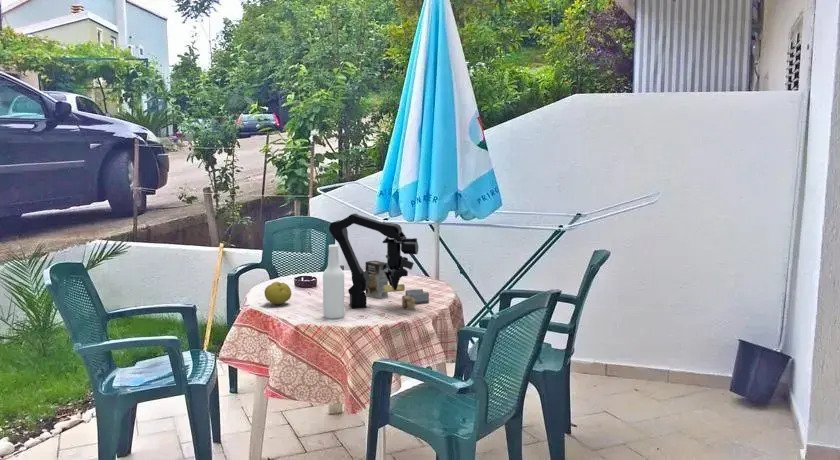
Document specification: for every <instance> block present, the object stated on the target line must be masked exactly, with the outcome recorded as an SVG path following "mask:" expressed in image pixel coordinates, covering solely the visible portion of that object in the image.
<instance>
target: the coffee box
mask: <svg viewBox="0 0 840 460" xmlns="http://www.w3.org/2000/svg"><path fill="white" fill-rule="evenodd" d="M382 263H386V262H384V261H381V260H369V261H365V271H366V270H367V272H368V275H369V277H370V284H369V286H368V287H367V288H366V290H365V295H366V297H369V298H373V299H378V300H379V299H380V300H381V299H383V298H387V297H388V296H389V295H388V293H389V292H383V285H389V282H388V279H387V277H386V275H385V273H384V272H385V271H386V269H384V270H381V264H382Z"/></svg>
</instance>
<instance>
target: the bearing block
mask: <svg viewBox="0 0 840 460" xmlns="http://www.w3.org/2000/svg"><path fill="white" fill-rule="evenodd" d="M402 302H407V310H408V311H412V310H416V304H415V299H414V298H412V297H411V296H409V295H406V294H405V295H401V303H402Z"/></svg>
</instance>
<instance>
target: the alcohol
mask: <svg viewBox="0 0 840 460" xmlns="http://www.w3.org/2000/svg"><path fill="white" fill-rule="evenodd" d="M322 304H323V305H322V309H323V310H322V315H323V317H324V318H325V319H329V320H337V319H342V318H344V316H345V313H346V312H345V307H346V306H345V305H346V304H345V272H344V271H343V269H342V268H341V265H340V260H339V244H334V243H333V244H329V245H328V257H327V266H326V268H325V270H324V271H323V274H322Z"/></svg>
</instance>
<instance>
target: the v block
mask: <svg viewBox="0 0 840 460" xmlns="http://www.w3.org/2000/svg"><path fill="white" fill-rule="evenodd" d="M405 295H409V296H411V297H412V298H414V299H415V305H420V304H429V303H430V293H429V292H428V291H427V292H424V290H423V288H420V289H409V290H407V289H406V290H405Z"/></svg>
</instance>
